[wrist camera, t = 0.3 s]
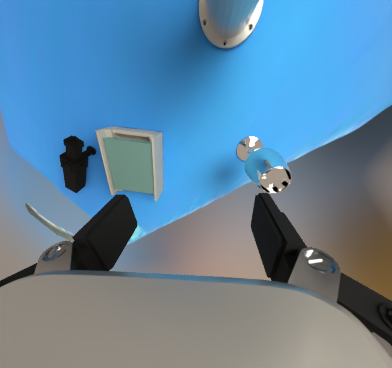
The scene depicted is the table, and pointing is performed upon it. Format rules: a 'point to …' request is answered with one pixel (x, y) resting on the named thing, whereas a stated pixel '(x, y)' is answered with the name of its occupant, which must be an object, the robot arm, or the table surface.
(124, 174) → the lid
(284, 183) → the wineglass
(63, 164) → the toy gun
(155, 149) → the box
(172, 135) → the table surface
